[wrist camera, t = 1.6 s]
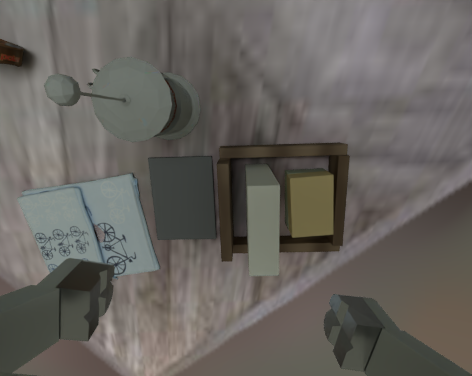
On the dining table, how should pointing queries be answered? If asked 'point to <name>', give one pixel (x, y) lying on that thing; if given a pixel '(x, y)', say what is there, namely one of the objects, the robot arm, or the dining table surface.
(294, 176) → the offcut upper
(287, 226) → the offcut lower
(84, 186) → the light flat printed piece
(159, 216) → the pad
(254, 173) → the pale grey rectangular block
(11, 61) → the tin
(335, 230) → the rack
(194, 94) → the french press
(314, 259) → the dining table surface
